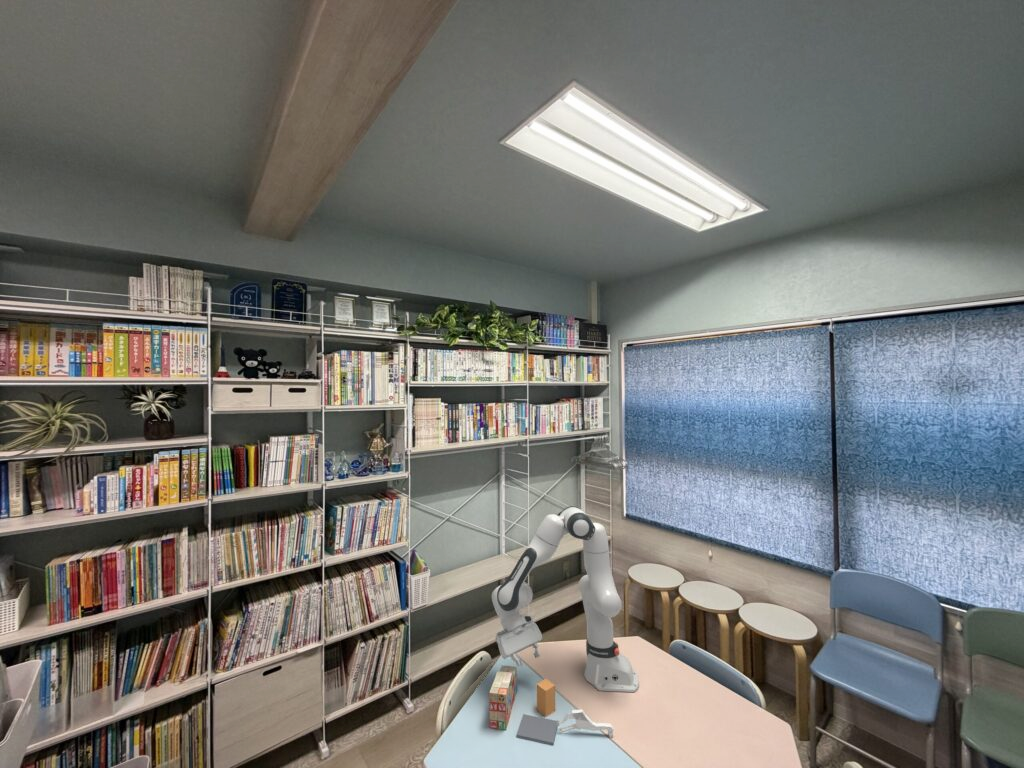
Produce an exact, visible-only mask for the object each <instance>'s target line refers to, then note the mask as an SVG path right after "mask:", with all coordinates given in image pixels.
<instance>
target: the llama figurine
mask: <svg viewBox="0 0 1024 768" xmlns="http://www.w3.org/2000/svg"><path fill="white" fill-rule="evenodd" d="M568 719H574V720H575V723H572V724H570V725H566V726H563V727H560V728H559V733H560V734H563V733H564V732H567V731H568V732H569V731H572V730H579V731H580V730H585V731H595V732H597V731H605V730H606V731H607V734H608V735H609V738H612V737H613V734H614V726H613V725H612V724H611V723H605V722H597V723H596V722H594V721H593V720H592V719H591V718H590V717H588V715H587V714H586V713H585V711H584V710H583V708H581V709H573V710H571V711H570V713H565V715H564V717H562V718H561V719H559V720H558V719H557V720H556V721H557V725H558V727H559V726H560V725H561V724H563V723H565V721H567V720H568Z"/></svg>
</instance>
